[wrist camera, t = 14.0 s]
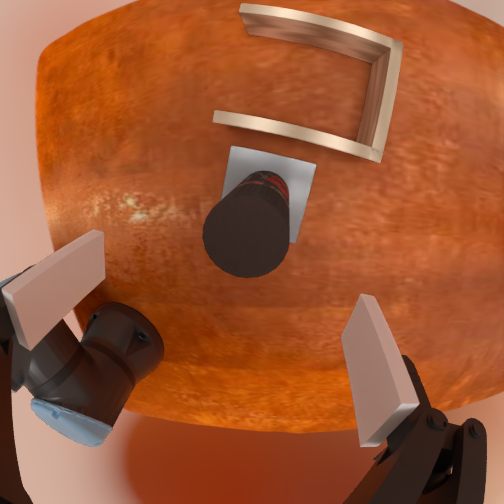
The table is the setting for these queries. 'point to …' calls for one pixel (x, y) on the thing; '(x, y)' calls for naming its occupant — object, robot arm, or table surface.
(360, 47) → the bay
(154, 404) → the table surface
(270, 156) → the mat
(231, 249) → the deodorant
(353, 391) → the robot arm
